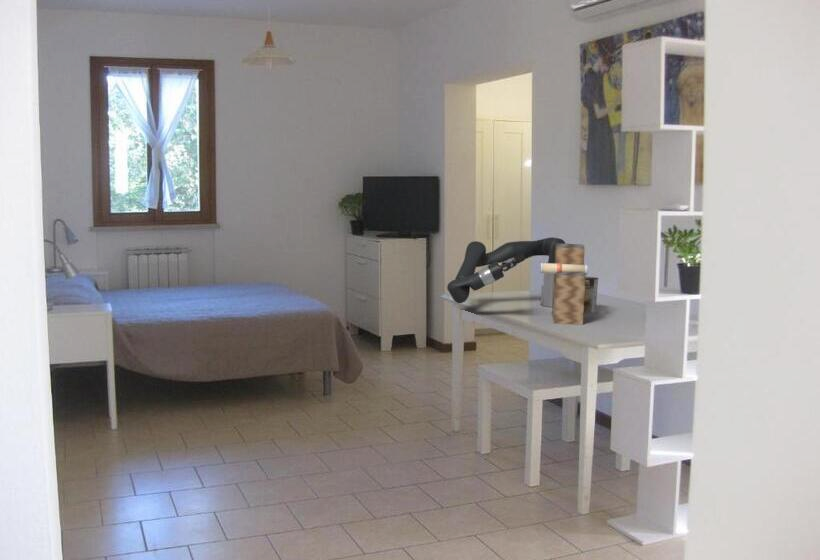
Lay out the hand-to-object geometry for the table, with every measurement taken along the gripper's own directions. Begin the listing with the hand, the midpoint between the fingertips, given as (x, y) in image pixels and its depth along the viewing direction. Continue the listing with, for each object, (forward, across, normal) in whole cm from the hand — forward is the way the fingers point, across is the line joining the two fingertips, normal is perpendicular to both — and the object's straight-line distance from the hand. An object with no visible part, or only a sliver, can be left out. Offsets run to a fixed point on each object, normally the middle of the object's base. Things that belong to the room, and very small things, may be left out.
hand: (523, 256), depth 385 cm
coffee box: (+12, -35, -40) cm, 55 cm away
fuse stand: (+3, -5, -34) cm, 35 cm away
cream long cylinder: (+12, 0, -15) cm, 19 cm away
